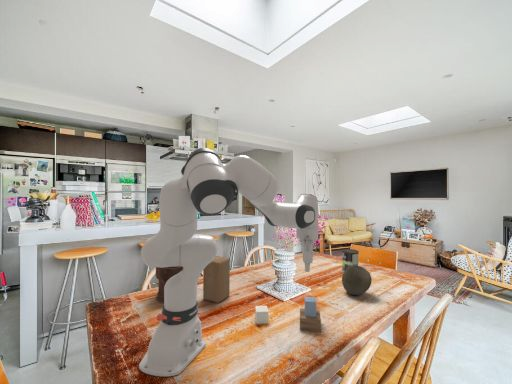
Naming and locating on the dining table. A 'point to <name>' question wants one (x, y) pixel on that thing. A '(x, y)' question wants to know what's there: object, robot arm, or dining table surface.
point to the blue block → (310, 306)
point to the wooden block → (216, 279)
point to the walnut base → (310, 322)
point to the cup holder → (165, 279)
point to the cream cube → (261, 314)
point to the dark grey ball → (356, 280)
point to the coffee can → (349, 258)
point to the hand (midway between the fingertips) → (306, 267)
